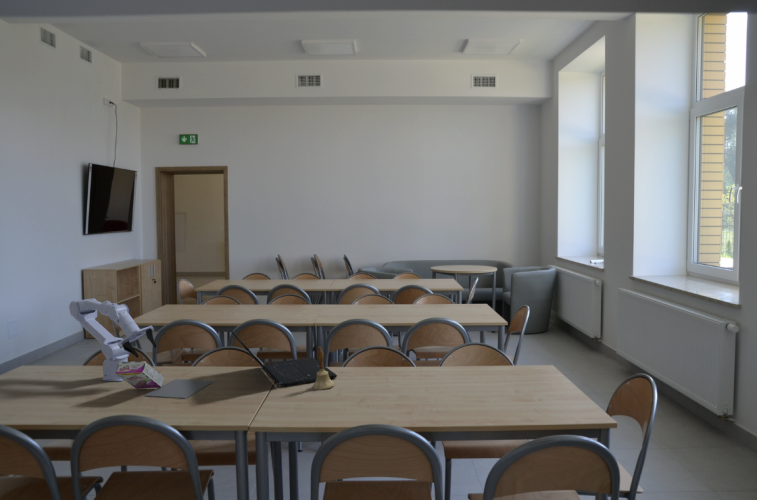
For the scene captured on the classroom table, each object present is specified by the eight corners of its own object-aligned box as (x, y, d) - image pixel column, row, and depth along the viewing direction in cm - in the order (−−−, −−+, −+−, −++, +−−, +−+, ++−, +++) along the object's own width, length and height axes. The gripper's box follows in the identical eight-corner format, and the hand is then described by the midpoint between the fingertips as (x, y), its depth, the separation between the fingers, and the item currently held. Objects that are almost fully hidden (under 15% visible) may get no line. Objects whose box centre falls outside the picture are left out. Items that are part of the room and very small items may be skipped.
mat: (144, 396, 207) (144, 395, 207) (175, 379, 226) (175, 378, 226) (185, 398, 203) (185, 397, 203) (214, 381, 222) (214, 380, 222)
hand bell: (333, 388, 208) (329, 349, 206) (312, 390, 208) (307, 351, 206) (334, 380, 217) (330, 342, 215) (314, 382, 217) (309, 344, 214)
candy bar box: (135, 389, 216) (114, 374, 203) (139, 377, 219) (118, 361, 205) (162, 388, 215) (142, 372, 201) (165, 376, 218) (145, 360, 204)
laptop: (337, 379, 222) (336, 333, 220) (245, 395, 206) (243, 345, 205) (313, 360, 252) (311, 319, 250) (231, 372, 236) (229, 328, 235)
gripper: (111, 331, 217) (128, 356, 213) (145, 313, 225) (162, 337, 221) (113, 339, 222) (130, 364, 218) (146, 322, 231) (163, 345, 226)
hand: (146, 351), depth 220 cm, fingers open, 7 cm apart
